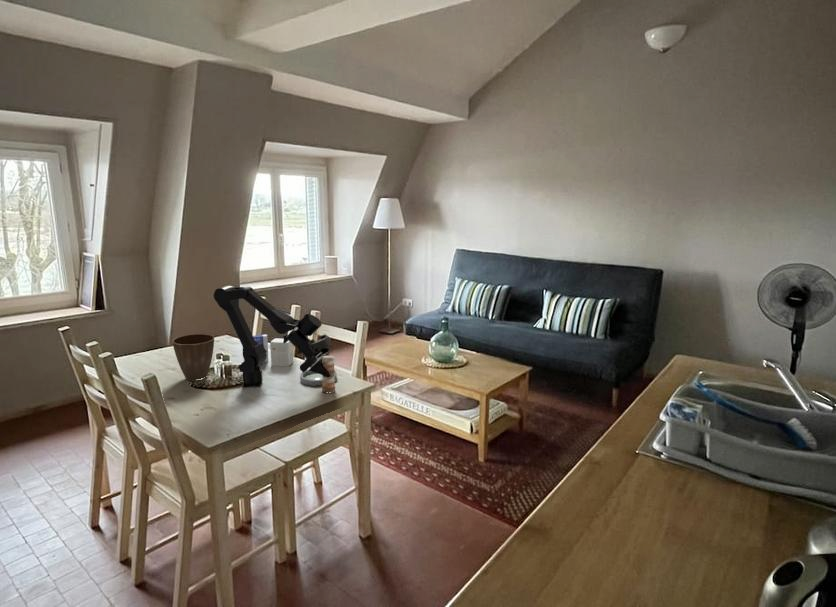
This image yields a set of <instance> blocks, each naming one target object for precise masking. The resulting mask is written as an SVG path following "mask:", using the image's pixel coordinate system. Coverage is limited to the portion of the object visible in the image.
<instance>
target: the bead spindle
mask: <svg viewBox="0 0 836 607" xmlns="http://www.w3.org/2000/svg"><path fill="white" fill-rule="evenodd" d="M322 364H323V366H324V367H325V368H326V370H327V371H328V372H329V374H330V375H331V376H330V377H326V376H323V375H322V382H323V386H321V392H322V391H323V392H322V393H324V392H325V394H330V393H329V392H333V391H335V392H336V384H335V381H334V370H335V356H332V355H329V356H324V357H322ZM326 392H328V393H326ZM333 393H334V392H333Z"/></svg>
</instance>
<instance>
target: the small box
mask: <svg viewBox="0 0 836 607" xmlns="http://www.w3.org/2000/svg"><path fill="white" fill-rule="evenodd" d="M283 340H284V338H274V339H272V340H271V341H270V342H269V348H270V362H271V363H270V364H271V366H279V367H280V366H281V367H282V366H284V367H289V366H290V365H292V363H293V362H294V350H293V348H294V347H293V346H294V345H293V344H292V343H291V342H290V341H288V342H286V343H283Z"/></svg>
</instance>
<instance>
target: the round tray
mask: <svg viewBox="0 0 836 607" xmlns="http://www.w3.org/2000/svg"><path fill="white" fill-rule="evenodd" d="M308 370H309V369H307V371H305V372H304V373H303V372H302V371H301V373H300V375H299V379H300V383H301V382H302V384H303V383H304V384H303V385H305V384H306V385H305V386H310V385H323V382H322V375H321V374H318V373H315V372H312V371H308ZM337 377H338V376H337V371H335V372H334V381H335V380H336V379H337V380H338V378H337ZM337 380H336V381H337Z"/></svg>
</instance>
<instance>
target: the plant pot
mask: <svg viewBox="0 0 836 607" xmlns="http://www.w3.org/2000/svg"><path fill="white" fill-rule="evenodd" d="M171 342H172V346H173V350H174V354H175V358H176V360H177V363H178V365H179V367H180V370H181V372H182V374H183V376H184V378H185V379H187V380H186V381H188V380H196V379H201V378H204V377H206V376H207V377H208V374H209V371H210V368H211V365H212V360H213V354H214V346H215V336H214V335H211V334H208V333H207V334H206V333H194V334H192V333H191V334H187V335H181V336H177V337H176V338H173V339H172V341H171ZM207 377H206V378H207Z"/></svg>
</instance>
